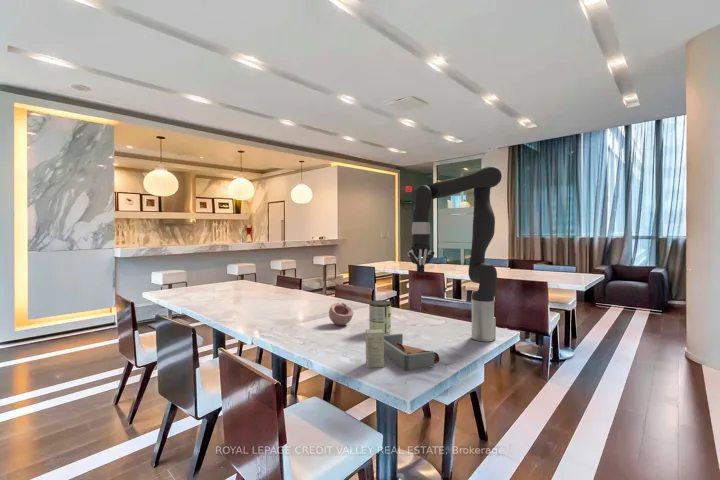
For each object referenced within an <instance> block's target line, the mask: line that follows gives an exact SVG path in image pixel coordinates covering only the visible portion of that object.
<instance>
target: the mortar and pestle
mask: <svg viewBox="0 0 720 480" xmlns="http://www.w3.org/2000/svg"><path fill="white" fill-rule="evenodd" d="M353 315H354V312H353V309H352V308H351V307H350V306H349V305H347V303H344V302H342V303H340V302H335V303H332V304H331V306H330V307H329V310H328V316H329V319H330V321H331V322H332V323H333V324H334V325H337V326H344V325H347V324H348V323H350V322H351V320H352V318H353Z"/></svg>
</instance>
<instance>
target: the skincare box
mask: <svg viewBox="0 0 720 480" xmlns="http://www.w3.org/2000/svg"><path fill="white" fill-rule="evenodd" d="M365 364H366V365H365V367H366V368H384V367H385V355H384V332H383V330H382V329H372V330H370V329H365Z"/></svg>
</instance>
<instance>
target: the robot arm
mask: <svg viewBox="0 0 720 480" xmlns="http://www.w3.org/2000/svg"><path fill="white" fill-rule="evenodd" d="M501 180H502V172H501V170H500V169H499V168H498V167H496V166H493V165H491V166H485V167H483V168H480V169H478V170H477V171H475V172H474V173H469V174H467V175H462V176H457V177H451V178H448V179H443V180H439V181H436V182H434V183H431V184H422V185H418V186H416V187H414V188H413V189H412V190H411V192H410V198H411V200H412V201H413V202H414V203H415V204H414V205H415V206H414V209H413V211H412V225H411V249H410V250H409V251H408V252H407V251H406V255H407V257H408V258H409V259H410V262H412V264H414V265H416V273H417V274H418V275H424V273H425V265H427V264H429V263H430V261H431V260H432V259H433V257H434V255H435V254H436V253H435V251H433V250H431V247H430V242H431V241H430V240H431V227H430V211H431V205H432V200H436V199H441V198H447V197H448V196H453V195H457V194H459V193H462V192H465V191H468V190H473V198H474V199H473V200H474V201H473V218H472V237H471V238H472V239H471V252H470V257H469V265H468V278H469V280H470V281H471V282H472V283H475V284H478V289H477V290H476V291H474V292H472V294H471V339H472V340H474V341H478V342H487V343H488V342H492V341H495V340H496V336H497V335H496V334H497V333H496V332H497V331H496V329H497V328H496V327H497V326H496V325H497V323H496V322H497V318H496V317H495V297H496V294H497V284H498V272H497V268H496V267H495V266H494V264H491V263H486V262H485V259H486V257H485V256H486V251H487V248H488V246H489V245H490V243H491V242H492V240H493V238H494V235H495V231H496V230H495V229H496V228H495V227H496V218H495V217H496V216H495V213H494V210H493V207H492V205H491V198H490V197H491V189H492V188H494V187H496V186H498V185H499V184H500V182H501Z"/></svg>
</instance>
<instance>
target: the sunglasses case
mask: <svg viewBox="0 0 720 480" xmlns="http://www.w3.org/2000/svg"><path fill="white" fill-rule="evenodd" d="M395 347H397V348H398V349H400V350H401V351H403V352H404V353H406V354H414V353H422V352H429V351H430V350H425V349H422V348H418V347H413V346H409V345H404V344H403V345H402V344H399V343H397V345H396V346H395ZM433 352H434V365H435V364H437V363H438V362H440V355H439V354H438V353H437V352H436V351H433Z"/></svg>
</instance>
